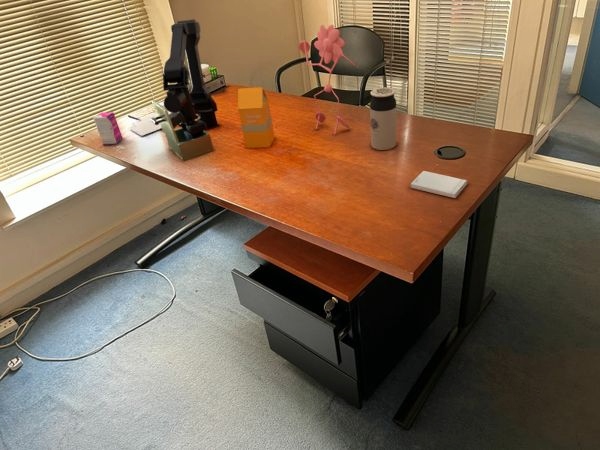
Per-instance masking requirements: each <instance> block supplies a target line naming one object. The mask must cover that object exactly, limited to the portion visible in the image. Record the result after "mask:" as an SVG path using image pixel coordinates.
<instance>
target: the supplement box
mask: <svg viewBox="0 0 600 450" xmlns="http://www.w3.org/2000/svg"><path fill="white" fill-rule="evenodd" d="M93 121H94V124H95V126H96V129H97V132H98V134H99V137H100V139H101V143H102V145H103V146H115V145H117V144H118V143H119V142H121V141H122V140H123V139H124V138H123V135H122V132H121V130H120V126H119V124H118V121H117V118H116V116H115V113H114V112H113V111H110V112H108V111H107V112H100V113H98V114H97V115H96V116H94V117H93Z"/></svg>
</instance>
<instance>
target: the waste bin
mask: <svg viewBox="0 0 600 450" xmlns="http://www.w3.org/2000/svg"><path fill="white" fill-rule="evenodd" d="M174 130H175V133H176V136H177V139H178V141H179V143H178V144H177V143H175V142H174V141H173V140H172V139H171V138H170V137H169V136H167V135H166V134H165V137H166V141H167V143H168V147H169V149H170V150H171V151H172V152H173V153H174V154H175V155H176V156H177V157H178V158H179V159H180V160H181V161H183V162H185V161H188V160H191V159H194V158H197V157H200V156H202V155H204V154H207V153H211V152H213V151H214V146H213V142H212V138H211V134H210V133H209V132H207V130H204V131H203V134H202V136H200V137H197V138H194V139H191V140H188V141H186V138H185V135H184V132H185V131H184V129H183V128H182V127H180V128H177V129H176V128H175V129H174Z"/></svg>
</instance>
